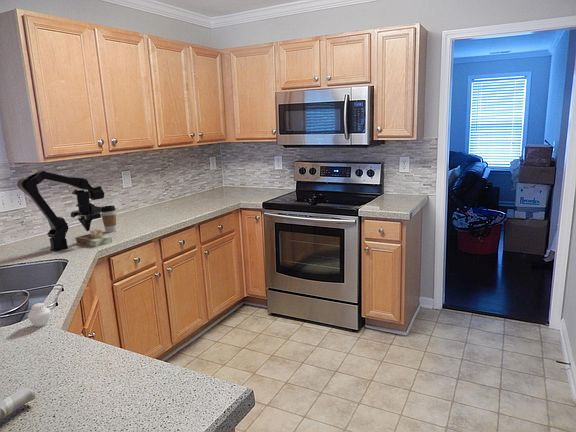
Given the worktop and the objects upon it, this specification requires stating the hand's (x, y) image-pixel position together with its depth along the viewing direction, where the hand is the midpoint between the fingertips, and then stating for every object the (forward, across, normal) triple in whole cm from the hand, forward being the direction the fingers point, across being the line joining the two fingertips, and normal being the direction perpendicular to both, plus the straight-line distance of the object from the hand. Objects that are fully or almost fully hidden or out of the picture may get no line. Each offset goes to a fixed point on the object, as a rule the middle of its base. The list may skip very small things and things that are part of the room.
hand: (88, 230), depth 229 cm
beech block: (+3, -7, 0) cm, 8 cm away
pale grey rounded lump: (+6, -80, +66) cm, 103 cm away
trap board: (+6, -4, 0) cm, 7 cm away
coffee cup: (+6, +10, -20) cm, 23 cm away
